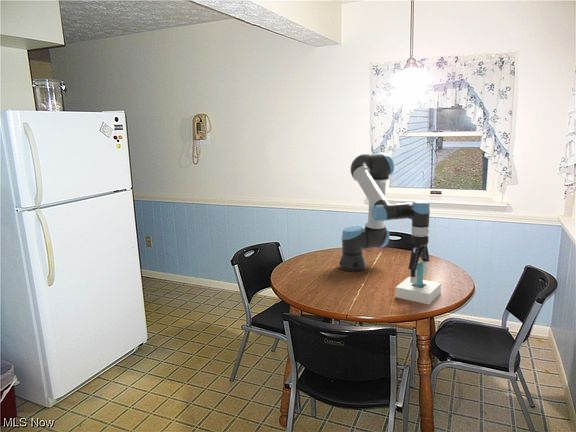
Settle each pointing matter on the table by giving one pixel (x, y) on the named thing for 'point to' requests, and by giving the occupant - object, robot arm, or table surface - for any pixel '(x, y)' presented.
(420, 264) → the peg
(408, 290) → the socket board
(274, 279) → the table surface
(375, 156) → the robot arm
